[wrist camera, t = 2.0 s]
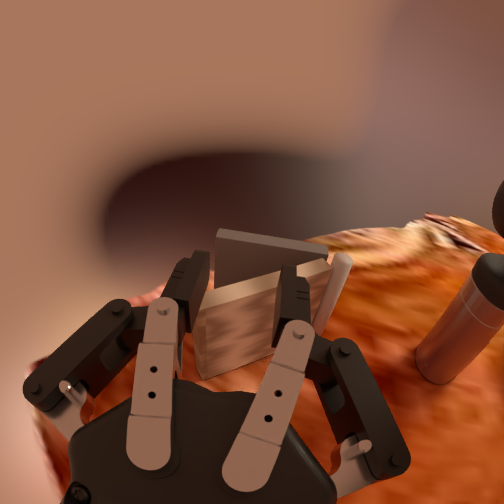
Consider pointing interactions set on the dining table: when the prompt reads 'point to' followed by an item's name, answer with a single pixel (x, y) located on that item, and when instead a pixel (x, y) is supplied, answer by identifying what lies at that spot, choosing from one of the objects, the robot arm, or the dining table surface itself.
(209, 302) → the ash plank
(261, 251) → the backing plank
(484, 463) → the dining table surface
